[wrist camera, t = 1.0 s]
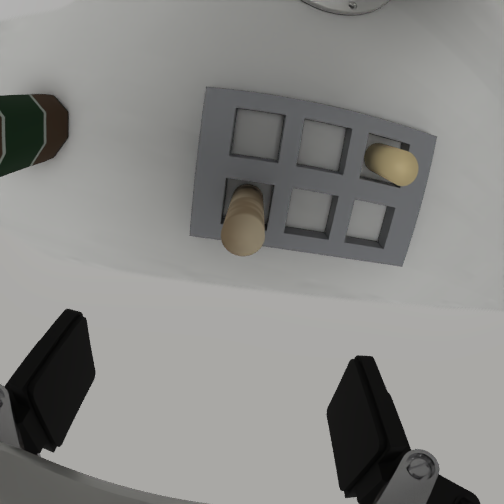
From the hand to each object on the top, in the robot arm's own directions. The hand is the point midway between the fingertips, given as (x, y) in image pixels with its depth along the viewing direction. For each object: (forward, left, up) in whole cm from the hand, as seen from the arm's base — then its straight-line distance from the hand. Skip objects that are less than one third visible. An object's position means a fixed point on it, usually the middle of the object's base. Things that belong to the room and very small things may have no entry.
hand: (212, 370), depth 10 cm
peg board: (-7, +3, -23) cm, 24 cm away
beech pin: (0, 0, -23) cm, 23 cm away
